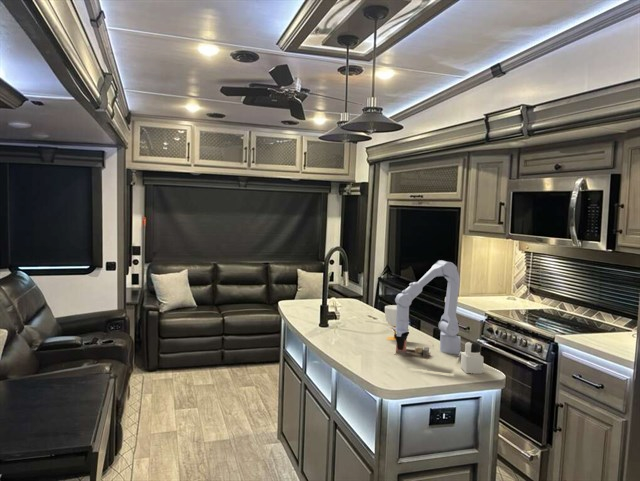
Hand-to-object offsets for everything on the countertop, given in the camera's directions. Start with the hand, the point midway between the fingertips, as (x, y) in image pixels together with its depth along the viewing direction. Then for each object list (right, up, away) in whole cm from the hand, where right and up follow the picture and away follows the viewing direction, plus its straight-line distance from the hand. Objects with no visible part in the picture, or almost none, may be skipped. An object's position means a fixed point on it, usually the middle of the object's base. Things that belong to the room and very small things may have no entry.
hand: (401, 348), depth 219 cm
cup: (+1, -2, +27) cm, 27 cm away
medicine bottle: (+26, -5, -20) cm, 33 cm away
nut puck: (+8, -2, -3) cm, 8 cm away
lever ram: (0, -2, 0) cm, 2 cm away
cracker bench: (+5, -3, -2) cm, 6 cm away
